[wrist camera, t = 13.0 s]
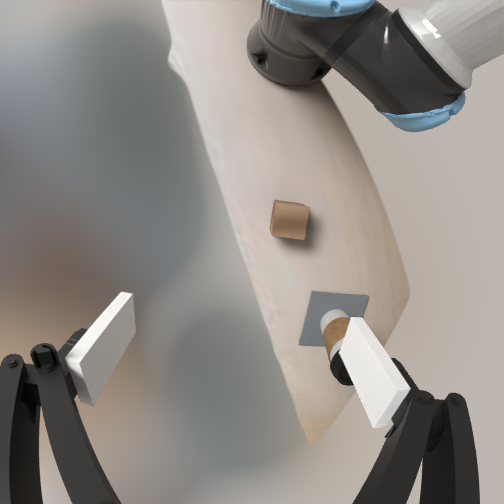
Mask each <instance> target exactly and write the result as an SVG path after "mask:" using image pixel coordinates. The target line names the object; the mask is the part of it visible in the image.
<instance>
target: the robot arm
mask: <svg viewBox="0 0 504 504" xmlns="http://www.w3.org/2000/svg"><path fill="white" fill-rule="evenodd" d="M247 54H248V57H249V60H250V62H251V63H252V65H253V66H254V68H255V69H256V70H257V71H258V72H259V73H260V74H262V75H263V76H264V77H266V78H267V79H269V80H271V81H273V82H276V83H279V84H282V85H287V86H305V85H309V84H313V83H315V82H317V81H319V80H320V79H322V78H323V77H324V76H325V75H326V74H327V73H328V72H329V70H331V68H334V69H335V70H336V71H337V72H339V73H340V74H341V75H342V76H343V77H344V78H346V79H347V80H348V81H349V82H350V83H351V84H352V85H354V86H355V87H356V88H357V89H358V90H359V91H360V92H361V93H362V94H363V95H364V96H365V97H366V98H368V99H369V100H370V101H371V102H372V103H373V104H374V107H375V108H376V110H377V111H378V112H380V113H381V114H383V115H385V116H386V117H387V118H388V119H389V120H390V121H391V122H392V123H393V124H394V125H395V126H396V127H398V128H400V129H402V130H404V131H409V132H419V131H424V130H428V129H432V128H434V127H437V126H439V125H441V124H443V123H445V122H446V121H448V120H449V119H450V116H451V115H456V114H457V113H458V112H459V111H460V110H461V109H462V107H463V105H464V103H465V93H464V90H466V89H468V88H470V87H471V81H472V72H473V70H474V69H475V68H477V67H479V66H481V65H483V64H485V63H486V62H488V61H490V60H492V59H494V58H496V57H498V56H500V55H502V54H504V0H430V1H429V2H428V3H427V4H425V5H424V6H423V7H420V8H416V7H410V6H400V7H399V8H398V9H397V10H396V11H395V12H393V13H392V12H390V11H389V10H388V9H387V8H385V7H384V6H383V5H382V4H380V3H379V2H378V1H376V0H262V5H261V16H260V19H259V20H258V22H257V23H256V24H255V25H254V26H253V27H252V29H251V30H250V32H249V35H248V39H247ZM135 333H136V329H135V319H134V305H133V294H130V293H125V292H121V293H120V294H119V295H118V296H117V297H116V298H115V300H114V301H113V302H112V303H111V304H110V305H109V306H108V307H107V309H106V310H105V311H104V312H103V313H102V314H101V316H100V317H99V318H98V319H97V320H96V321H95V322H94V324H93V325H92V326H91V327H90V328H89V329H84V328H82V329H80V330H78V331H76V332H75V333H74V334H73V335H72V336H71V337H70V339H69V340H68V341H67V342H66V344H64V345H63V346H62V348H61V349H60V350H59V351H58V352H57V351H56V349H55V347H54V346H53V345H51V344H48V343H42V344H38V345H36V346H35V347H33V348H32V350H31V353H30V355H31V358H32V361H33V363H34V365H32V364H25V363H24V360H23V358H22V357H21V356H20V355H17V354H10V355H8V356H6V357H5V358H4V359H3V360H2V363H1V366H0V504H43V500H42V492H41V483H40V469H39V423H40V407H41V406H42V411H43V416H44V421H45V425H46V429H47V433H48V437H49V440H50V444H51V447H52V451H53V454H54V457H55V460H56V463H57V466H58V469H59V472H60V474H61V477H62V480H63V482H64V485H65V487H66V490H67V492H68V494H69V497H70V499H71V501H72V503H73V504H121V502H120V500H119V499H118V497H117V495H116V494H115V492H114V490H113V488H112V487H111V485H110V483H109V481H108V479H107V477H106V475H105V473H104V471H103V469H102V467H101V465H100V463H99V461H98V459H97V457H96V454H95V452H94V450H93V448H92V445H91V444H90V441H89V438H88V436H87V433H86V431H85V428H84V426H83V423H82V420H81V418H80V415H79V412H78V409H77V406H76V403H75V401H74V398H75V396H76V395H77V394H78V397H79V399H80V401H81V402H83V403H86V404H89V405H92V406H94V405H95V403H96V401H97V400H98V398H99V396H100V394H101V392H102V390H103V389H104V386H105V385H106V383H107V381H108V380H109V378H110V376H111V374H112V372H113V371H114V369H115V367H116V365H117V364H118V362H119V360H120V358H121V357H122V355H123V353H124V351H125V350H126V348H127V346H128V345H129V343H130V341H131V340H132V338H133V336H134V334H135ZM339 354H340V356H341V358H342V360H343V362H344V364H345V367H346V369H347V371H348V373H349V375H350V377H351V380H352V382H353V384H354V386H355V388H356V391H357V393H358V395H359V397H360V400H361V402H362V404H363V406H364V409H365V411H366V413H367V415H368V417H369V420H370V422H371V425H372V427H373V429H375V428H381V427H386V426H387V424H388V423H389V421H390V420H391V419H392V421H393V423H394V425H393V426H392V428H391V429H390V430H389V432H388V433H387V434H386V436H385V438H386V437H387V439H386V441H385V443H384V445H383V448H382V450H381V452H380V454H379V456H378V458H377V460H376V462H375V464H374V466H373V468H372V470H371V472H370V474H369V476H368V478H367V480H366V482H365V483H364V485H363V487H362V488H361V490H360V492H359V494H358V495H357V497H356V499H355V500H354V502H353V503H352V504H406V503H407V500H408V498H409V495H410V493H411V490H412V487H413V485H414V482H415V479H416V476H417V473H418V470H419V467H420V464H421V461H422V458H423V461H422V462H423V464H422V483H421V493H420V503H419V504H480V492H479V476H478V465H477V457H476V450H475V443H474V437H473V432H472V426H471V422H470V417H469V412H468V408H467V404H466V401H465V399H464V398H463V396H461V395H460V394H457V393H450V394H448V396H447V397H446V399H445V400H439V399H434V396H433V395H431V394H430V393H429V392H427V391H423V390H419V389H418V387H417V386H416V384H415V383H414V381H413V380H412V378H411V377H410V375H408V373H407V371H406V370H405V368H404V367H403V365H402V364H401V363H400V362H399V361H398V360H396V359H395V358H390V357H389V356H388V354H387V353H386V351H385V350H384V348H383V347H382V345H381V344H380V342H379V341H378V340H377V338H376V337H375V335H374V334H373V332H372V331H371V330H370V328H369V327H368V325H367V324H366V323H365V321H364V320H363V318H362V317H351V319H350V322H349V325H348V328H347V331H346V334H345V337H344V340H343V343H342V346H341V349H340V351H339Z"/></svg>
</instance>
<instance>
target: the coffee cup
mask: <svg viewBox="0 0 504 504" xmlns="http://www.w3.org/2000/svg"><path fill="white" fill-rule="evenodd" d="M350 319H351V318H350V317H349V316H348V314H347V313H346V312H345V311H343V310H340V309H334V310H331V311H329V312H327V313H326V314H325V315H324V316H323V317H322V319H321V322H320V327H321V331H322V334H323V338H324V342H325V346H326V350H327V354H328V358H329V361H330V363H331V364H330V369H331V372H332V374H333V376H334V377H335V378H336V379H337V380H338V381H339V382H340V383H341V384H343V385H347V386H350V385H354V384H353V382H352V380H351V377H350V375H349V373H348V371H347V369H346V367H345V364H344V362H343V360H342V358H341V356H340V354H339V351H340V349H341V346H342V343H343V340H344V337H345V334H346V331H347V328H348V325H349V322H350Z"/></svg>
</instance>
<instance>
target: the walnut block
mask: <svg viewBox="0 0 504 504" xmlns="http://www.w3.org/2000/svg"><path fill="white" fill-rule="evenodd" d="M309 211H310V208H309V207H307V206H306V205H304V204H299V203H293V202H286V201H279V200H274V204H273V210H272V217H271V224H270V231H271V233H272V236H278V237H285V238H293V239H300V240H304V239H305V234H306V228H307V223H308V217H309Z"/></svg>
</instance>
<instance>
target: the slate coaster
mask: <svg viewBox="0 0 504 504" xmlns="http://www.w3.org/2000/svg"><path fill="white" fill-rule="evenodd" d="M368 298H369V296H368V295H354V294H341V293H329V292H317V291H312V292H311V296H310V301H309V305H308V309H307V313H306V317H305V321H304V325H303V329H302V333H301V337H300V340H299V345H308V346H325V342H324V338H323V334H322V331H321V327H320V322H321V319H322V317H323V316H324V315H325V314H326V313H327V312H329V311H331V310H334V309H340V310H343V311H345V312H346V313H347V314H348V316H349V317H350V318H351V317H363V314H364V311H365V308H366V304H367V301H368Z"/></svg>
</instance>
